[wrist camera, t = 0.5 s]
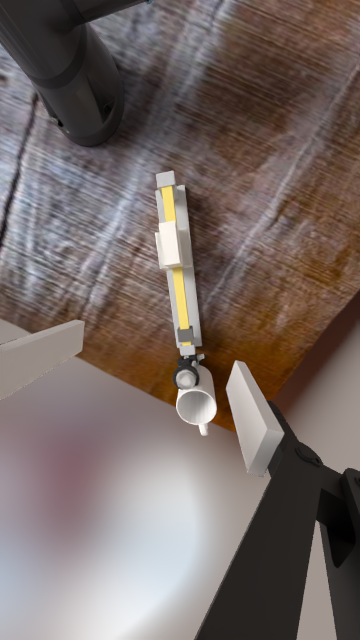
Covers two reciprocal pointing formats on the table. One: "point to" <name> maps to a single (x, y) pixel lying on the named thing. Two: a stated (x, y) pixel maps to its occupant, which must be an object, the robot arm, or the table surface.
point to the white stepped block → (173, 246)
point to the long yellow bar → (178, 276)
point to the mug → (198, 401)
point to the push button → (187, 372)
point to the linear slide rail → (188, 273)
